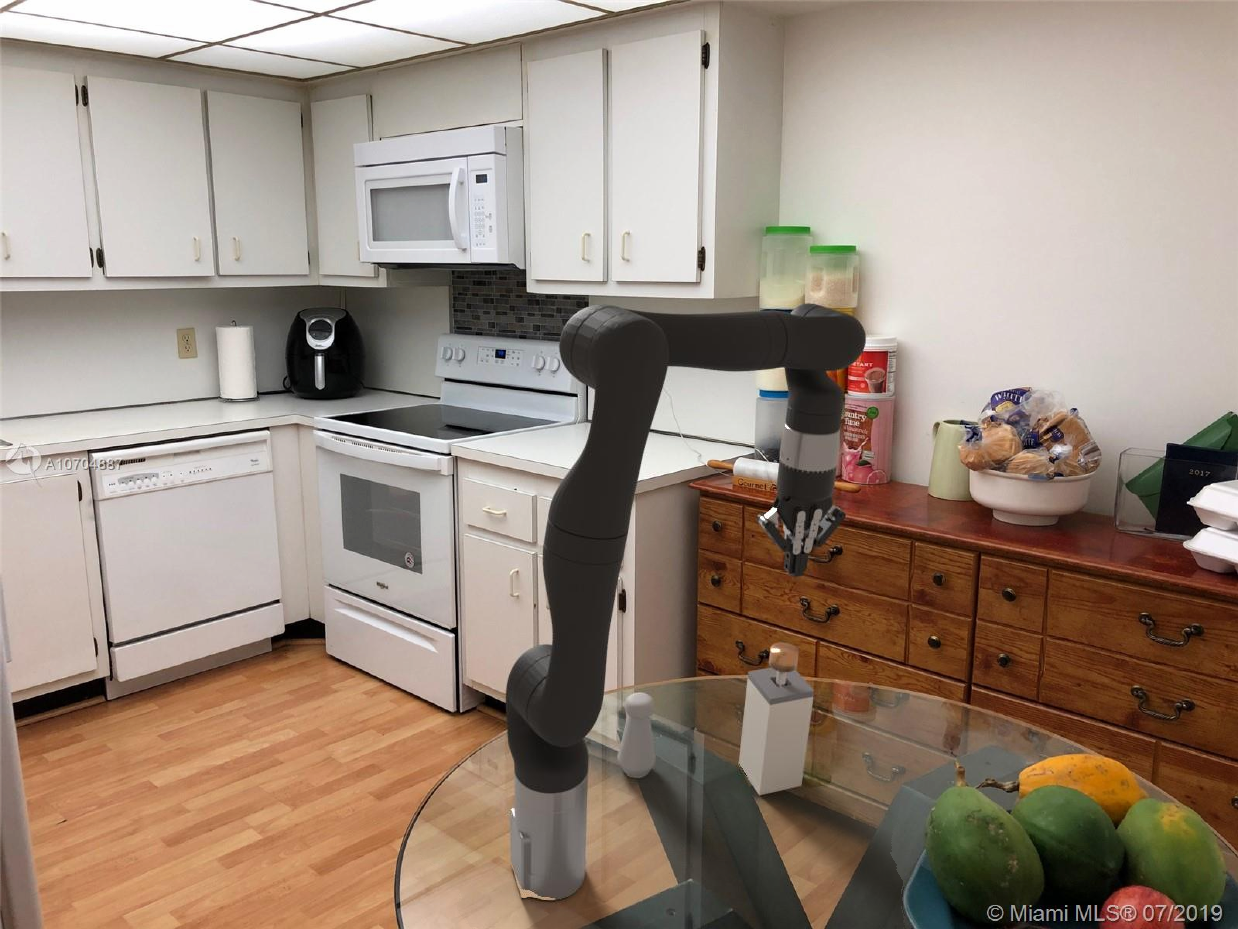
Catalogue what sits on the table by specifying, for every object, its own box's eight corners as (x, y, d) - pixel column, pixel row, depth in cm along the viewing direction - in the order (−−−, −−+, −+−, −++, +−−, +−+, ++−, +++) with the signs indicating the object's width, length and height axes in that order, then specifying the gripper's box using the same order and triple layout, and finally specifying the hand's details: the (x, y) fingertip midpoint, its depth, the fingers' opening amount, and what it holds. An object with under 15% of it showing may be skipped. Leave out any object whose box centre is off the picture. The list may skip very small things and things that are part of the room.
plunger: (766, 761, 143) (778, 660, 136) (752, 742, 147) (763, 644, 140) (792, 755, 144) (805, 656, 138) (778, 737, 148) (790, 639, 142)
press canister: (759, 795, 143) (770, 699, 137) (738, 765, 149) (748, 671, 143) (801, 786, 145) (814, 691, 139) (779, 756, 152) (790, 664, 145)
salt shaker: (651, 786, 144) (656, 713, 139) (613, 779, 145) (616, 707, 140) (657, 760, 150) (662, 690, 145) (621, 754, 151) (624, 684, 146)
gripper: (777, 473, 122) (764, 594, 129) (867, 464, 127) (850, 581, 133) (750, 452, 129) (739, 567, 136) (837, 443, 133) (822, 556, 140)
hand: (794, 574), depth 134 cm, fingers closed
